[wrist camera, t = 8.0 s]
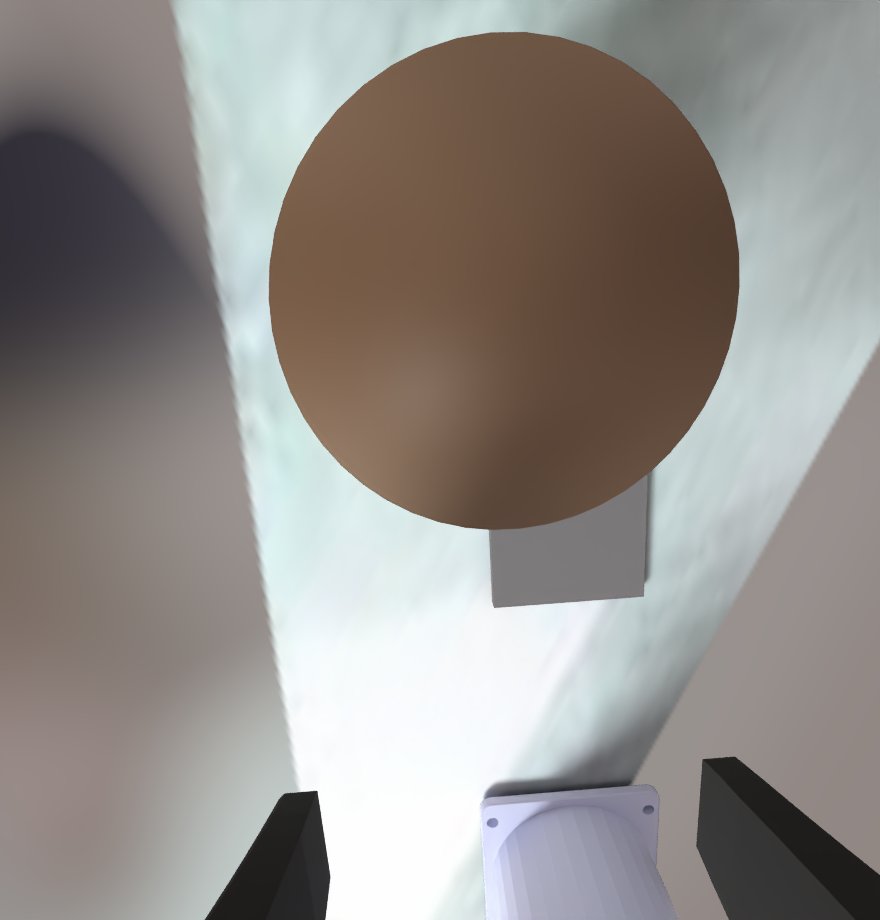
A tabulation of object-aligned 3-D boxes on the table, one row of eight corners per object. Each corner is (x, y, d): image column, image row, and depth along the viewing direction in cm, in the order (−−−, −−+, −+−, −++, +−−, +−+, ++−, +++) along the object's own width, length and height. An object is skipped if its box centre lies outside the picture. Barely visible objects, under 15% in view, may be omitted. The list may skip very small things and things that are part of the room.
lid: (627, 455, 9) (729, 508, 6) (347, 483, 9) (309, 550, 6) (627, 139, 8) (752, 8, 5) (301, 170, 8) (226, 55, 5)
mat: (638, 590, 19) (643, 596, 19) (492, 601, 19) (494, 607, 19) (643, 420, 18) (649, 423, 17) (484, 432, 18) (486, 434, 17)
